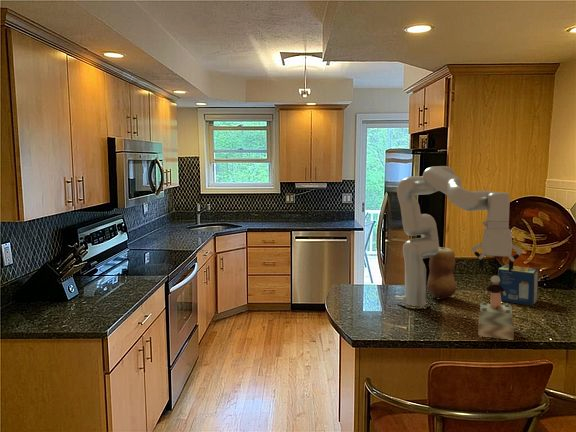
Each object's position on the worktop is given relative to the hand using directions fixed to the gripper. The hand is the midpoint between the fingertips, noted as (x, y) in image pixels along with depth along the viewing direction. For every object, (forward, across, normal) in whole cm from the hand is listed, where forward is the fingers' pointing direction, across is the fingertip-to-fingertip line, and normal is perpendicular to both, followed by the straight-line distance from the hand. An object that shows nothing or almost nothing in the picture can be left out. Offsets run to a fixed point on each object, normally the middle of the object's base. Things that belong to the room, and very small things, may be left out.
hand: (495, 270), depth 172 cm
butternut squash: (+26, -22, +42) cm, 54 cm away
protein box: (+26, +12, +50) cm, 57 cm away
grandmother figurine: (+15, 0, 0) cm, 15 cm away
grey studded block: (+25, +1, 0) cm, 25 cm away
